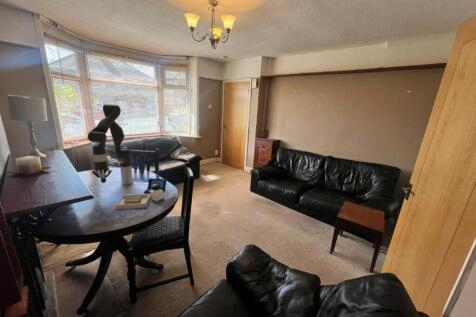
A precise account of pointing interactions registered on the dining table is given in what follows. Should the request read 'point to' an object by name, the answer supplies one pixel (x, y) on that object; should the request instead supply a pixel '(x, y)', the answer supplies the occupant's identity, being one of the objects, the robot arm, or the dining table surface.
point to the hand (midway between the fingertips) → (103, 182)
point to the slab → (133, 200)
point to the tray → (142, 204)
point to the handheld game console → (156, 181)
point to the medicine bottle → (156, 193)
